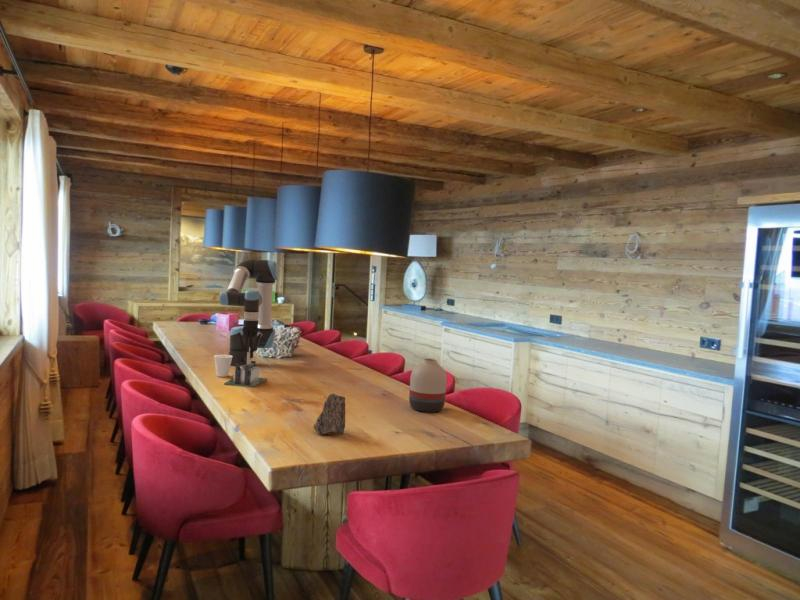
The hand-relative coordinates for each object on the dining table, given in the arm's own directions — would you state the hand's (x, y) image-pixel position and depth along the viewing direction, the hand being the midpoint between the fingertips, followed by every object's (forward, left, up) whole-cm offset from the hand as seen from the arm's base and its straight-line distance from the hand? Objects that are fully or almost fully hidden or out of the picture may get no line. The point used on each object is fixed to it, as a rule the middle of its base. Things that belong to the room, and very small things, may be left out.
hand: (248, 364), depth 303 cm
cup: (-8, -17, -10) cm, 21 cm away
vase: (+27, +96, -10) cm, 100 cm away
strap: (+3, 0, -1) cm, 3 cm away
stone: (+77, +60, -10) cm, 98 cm away
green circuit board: (+2, 0, -9) cm, 10 cm away
